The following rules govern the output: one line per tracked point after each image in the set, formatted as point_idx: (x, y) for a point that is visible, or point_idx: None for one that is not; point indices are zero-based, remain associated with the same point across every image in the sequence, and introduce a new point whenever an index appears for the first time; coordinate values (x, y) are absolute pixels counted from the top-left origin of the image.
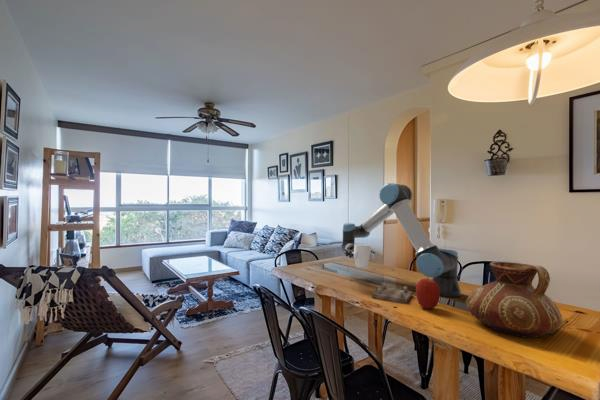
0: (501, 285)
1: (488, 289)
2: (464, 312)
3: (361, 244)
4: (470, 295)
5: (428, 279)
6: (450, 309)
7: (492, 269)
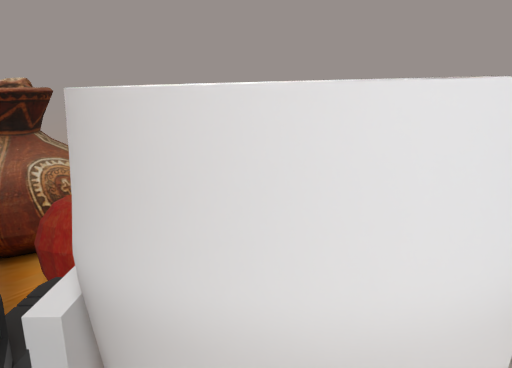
0: (43, 135)
1: (59, 151)
2: (6, 284)
3: (240, 108)
4: (67, 185)
5: (69, 201)
6: (20, 299)
7: (30, 102)
